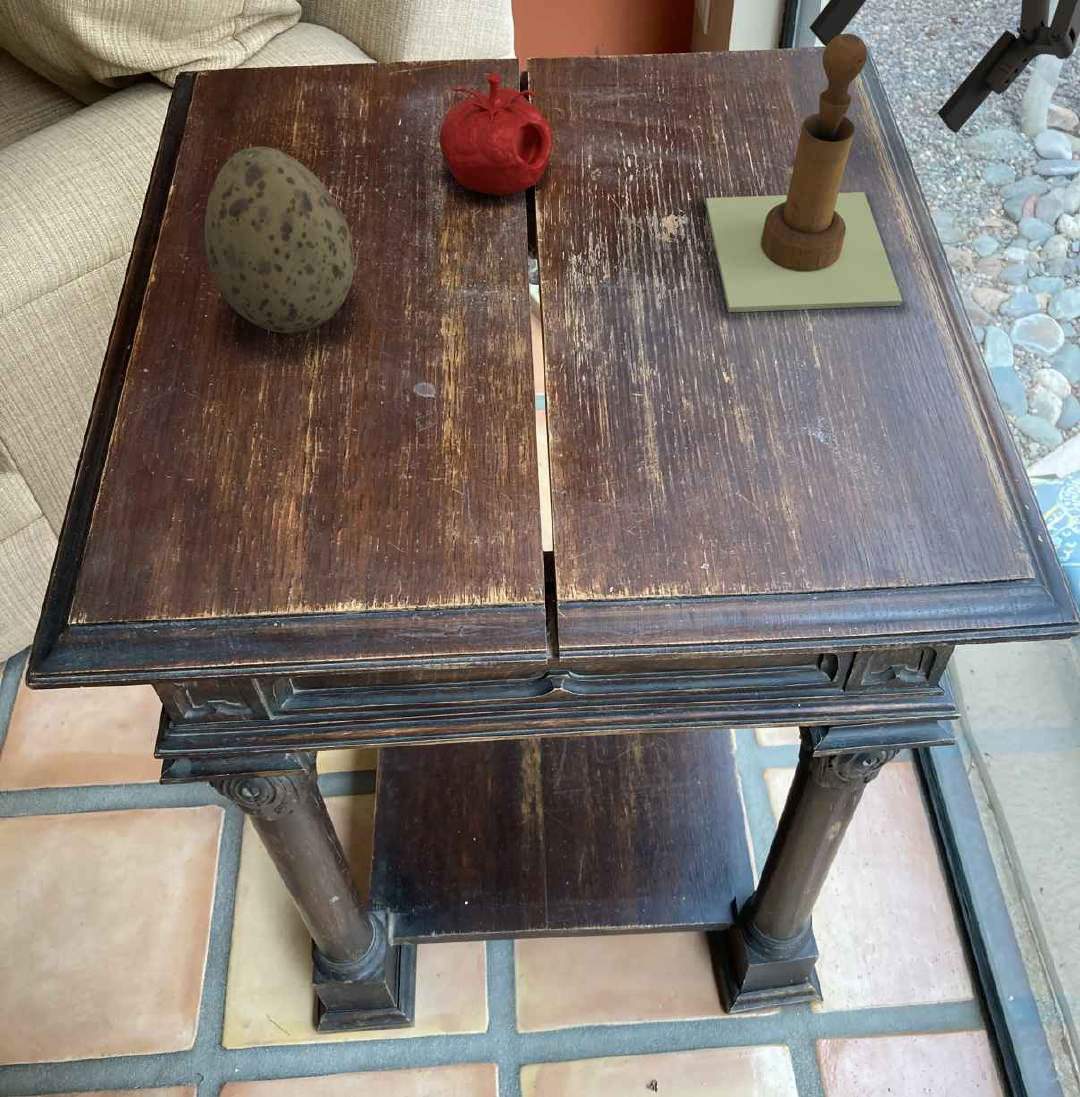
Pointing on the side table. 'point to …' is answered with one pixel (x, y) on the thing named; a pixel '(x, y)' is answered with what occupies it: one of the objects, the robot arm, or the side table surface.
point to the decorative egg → (277, 242)
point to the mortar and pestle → (818, 170)
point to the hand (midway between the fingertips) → (879, 79)
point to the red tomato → (496, 140)
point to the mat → (775, 287)
